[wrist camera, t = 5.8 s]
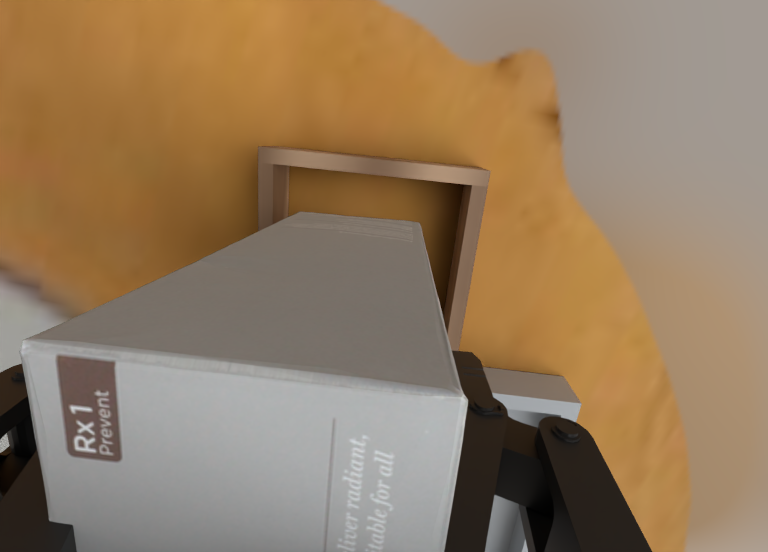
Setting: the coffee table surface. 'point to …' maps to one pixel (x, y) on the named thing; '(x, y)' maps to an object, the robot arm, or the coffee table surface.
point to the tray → (528, 405)
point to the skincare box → (258, 400)
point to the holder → (474, 178)
